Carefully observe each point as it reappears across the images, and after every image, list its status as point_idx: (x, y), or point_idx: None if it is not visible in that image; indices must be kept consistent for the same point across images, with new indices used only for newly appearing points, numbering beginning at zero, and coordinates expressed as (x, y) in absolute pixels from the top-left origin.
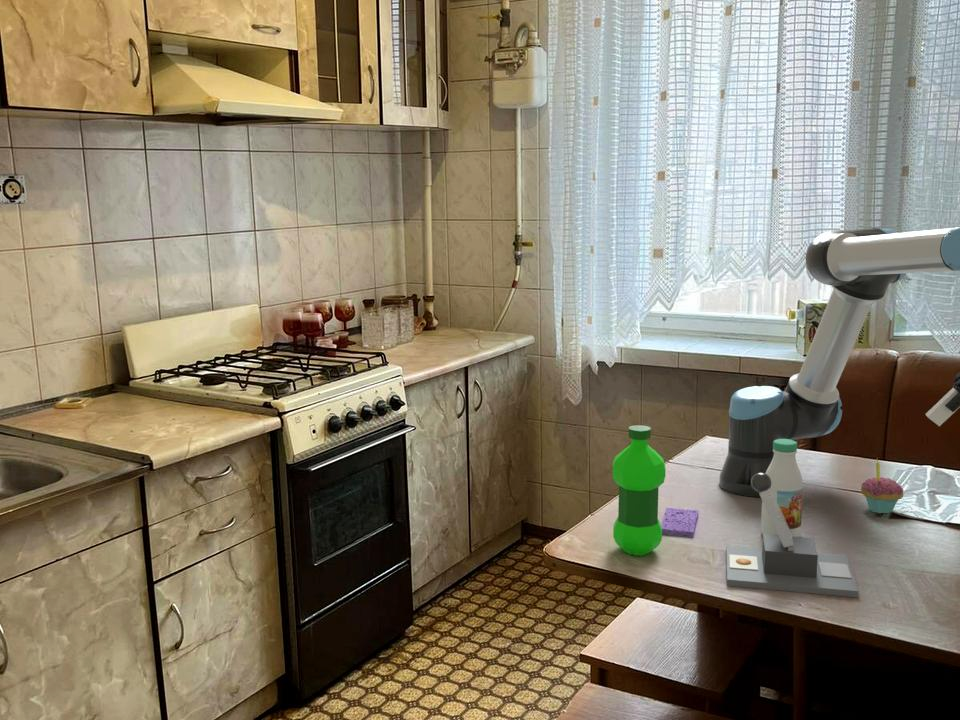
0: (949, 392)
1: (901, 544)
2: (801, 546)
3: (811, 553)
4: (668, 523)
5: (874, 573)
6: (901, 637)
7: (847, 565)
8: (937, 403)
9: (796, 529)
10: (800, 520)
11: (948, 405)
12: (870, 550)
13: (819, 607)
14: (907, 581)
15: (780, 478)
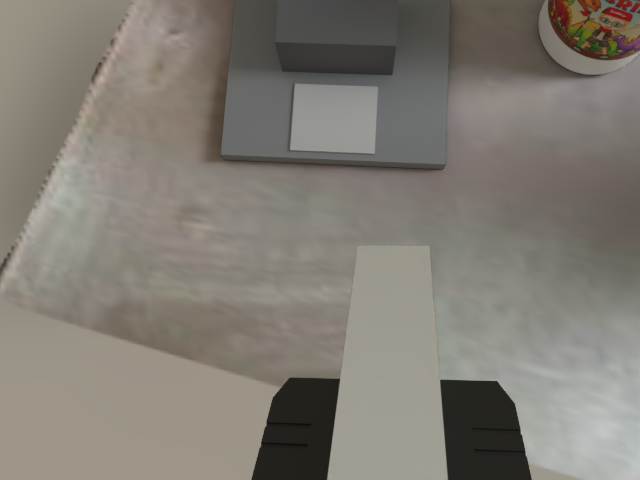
0: (408, 451)
1: (596, 343)
2: (328, 9)
3: (284, 28)
4: None
5: (372, 225)
6: (42, 212)
7: (372, 155)
8: (418, 326)
9: (563, 46)
10: (590, 47)
11: (283, 396)
12: (530, 247)
13: (164, 70)
14: (336, 296)
15: None
